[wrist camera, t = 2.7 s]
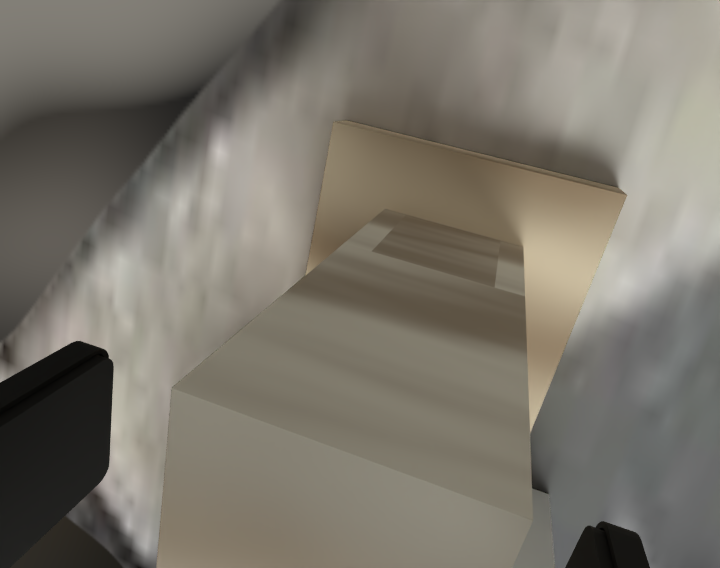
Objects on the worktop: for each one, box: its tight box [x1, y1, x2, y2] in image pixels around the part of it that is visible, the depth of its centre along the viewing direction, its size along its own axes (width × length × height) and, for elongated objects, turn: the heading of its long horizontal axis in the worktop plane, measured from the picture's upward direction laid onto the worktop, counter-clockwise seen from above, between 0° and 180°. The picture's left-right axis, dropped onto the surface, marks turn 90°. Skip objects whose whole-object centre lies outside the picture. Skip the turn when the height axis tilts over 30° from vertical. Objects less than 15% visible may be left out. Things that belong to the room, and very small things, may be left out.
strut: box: [156, 209, 533, 568], centre depth 14 cm, size 5×5×13 cm
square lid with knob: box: [305, 120, 627, 432], centre depth 18 cm, size 10×10×6 cm
